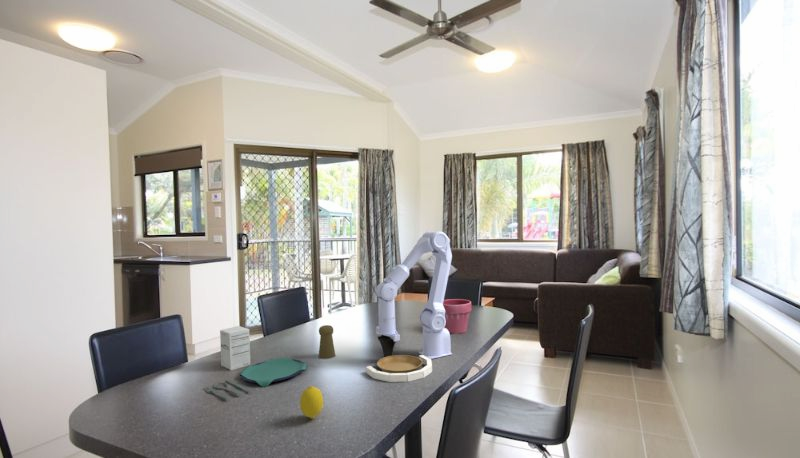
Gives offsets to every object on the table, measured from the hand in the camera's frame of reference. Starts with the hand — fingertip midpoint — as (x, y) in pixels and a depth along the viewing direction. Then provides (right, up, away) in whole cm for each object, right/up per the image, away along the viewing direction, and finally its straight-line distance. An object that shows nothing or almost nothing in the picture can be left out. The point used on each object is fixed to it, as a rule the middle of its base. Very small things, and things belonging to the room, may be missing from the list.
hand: (388, 357), depth 139 cm
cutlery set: (-40, -4, -12) cm, 42 cm away
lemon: (-18, -3, -39) cm, 43 cm away
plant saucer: (+4, -2, -7) cm, 9 cm away
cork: (-22, -2, +8) cm, 24 cm away
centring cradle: (+6, -2, -11) cm, 12 cm away
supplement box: (-53, -4, +1) cm, 53 cm away
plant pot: (+28, 0, +36) cm, 46 cm away
